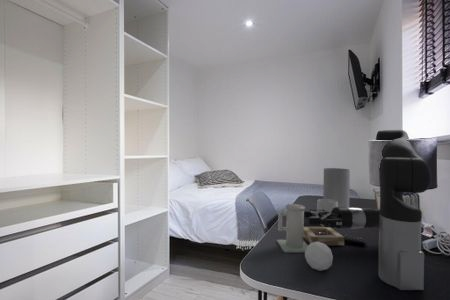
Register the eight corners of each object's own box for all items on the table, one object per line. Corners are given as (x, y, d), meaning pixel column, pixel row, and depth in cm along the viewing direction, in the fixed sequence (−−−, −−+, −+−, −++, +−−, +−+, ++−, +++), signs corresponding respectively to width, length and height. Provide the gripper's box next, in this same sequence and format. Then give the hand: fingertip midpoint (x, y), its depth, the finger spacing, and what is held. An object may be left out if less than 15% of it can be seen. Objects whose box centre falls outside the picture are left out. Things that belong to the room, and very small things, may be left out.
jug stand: (344, 245, 90) (344, 237, 90) (312, 245, 89) (312, 237, 89) (329, 233, 102) (329, 226, 102) (300, 233, 101) (300, 226, 101)
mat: (313, 252, 83) (313, 250, 83) (284, 252, 83) (284, 250, 83) (302, 241, 93) (302, 239, 93) (276, 241, 93) (276, 239, 93)
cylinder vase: (354, 218, 125) (355, 169, 125) (336, 220, 120) (337, 170, 120) (335, 212, 136) (336, 167, 136) (317, 214, 132) (318, 168, 132)
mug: (335, 228, 108) (335, 203, 108) (314, 224, 113) (315, 201, 113) (339, 222, 118) (340, 199, 118) (320, 218, 123) (321, 197, 123)
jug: (307, 248, 85) (307, 208, 85) (280, 248, 84) (281, 208, 84) (300, 241, 91) (301, 204, 91) (275, 241, 91) (276, 203, 91)
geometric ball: (310, 276, 72) (295, 251, 76) (330, 263, 75) (315, 239, 78) (322, 276, 66) (305, 247, 69) (344, 261, 69) (326, 234, 72)
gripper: (338, 203, 96) (297, 202, 95) (360, 212, 81) (312, 212, 81) (337, 222, 96) (297, 222, 95) (359, 234, 82) (312, 235, 81)
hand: (304, 217), depth 88 cm, fingers open, 8 cm apart
